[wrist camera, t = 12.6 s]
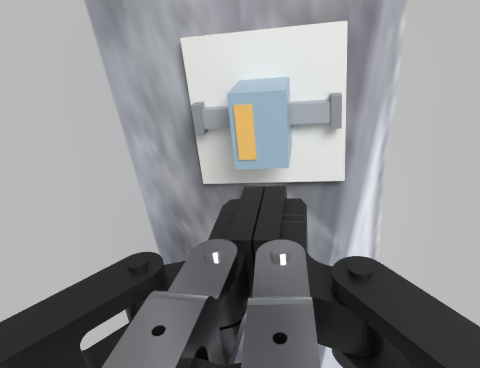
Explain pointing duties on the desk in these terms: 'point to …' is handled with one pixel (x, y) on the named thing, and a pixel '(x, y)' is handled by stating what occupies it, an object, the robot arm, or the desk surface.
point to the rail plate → (301, 98)
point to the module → (261, 123)
